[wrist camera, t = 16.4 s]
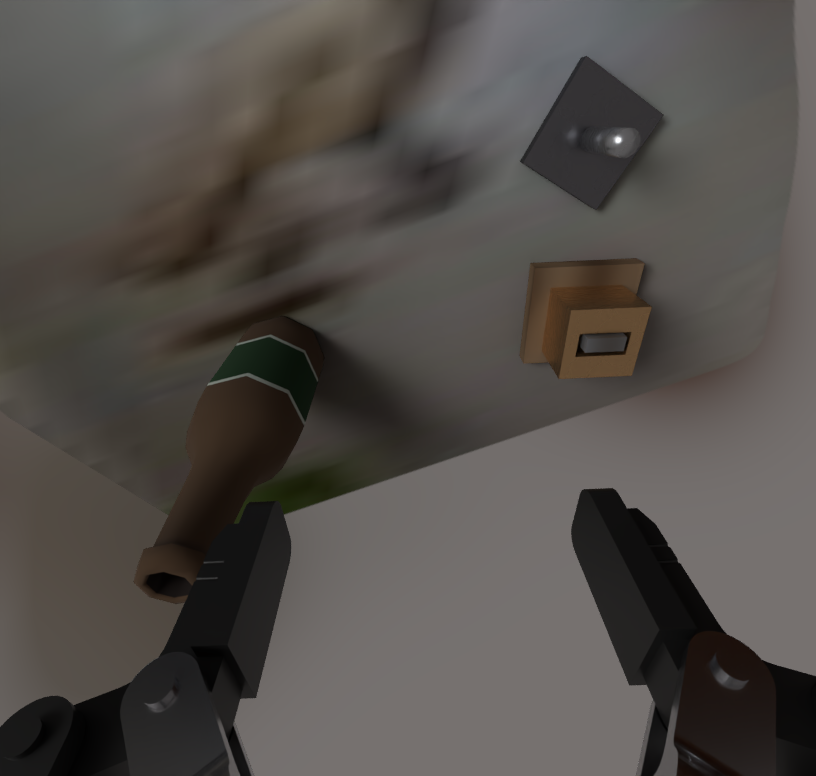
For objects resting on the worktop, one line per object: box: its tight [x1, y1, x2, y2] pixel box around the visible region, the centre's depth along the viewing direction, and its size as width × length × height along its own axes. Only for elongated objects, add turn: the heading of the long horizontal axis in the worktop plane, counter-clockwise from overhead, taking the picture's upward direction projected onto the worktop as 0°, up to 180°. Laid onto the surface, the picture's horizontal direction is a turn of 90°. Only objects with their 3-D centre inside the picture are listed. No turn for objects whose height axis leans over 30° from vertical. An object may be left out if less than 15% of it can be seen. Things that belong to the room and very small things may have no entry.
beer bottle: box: [134, 316, 324, 604], centre depth 30 cm, size 8×8×24 cm
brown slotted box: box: [541, 285, 652, 379], centre depth 35 cm, size 6×6×5 cm
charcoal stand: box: [520, 56, 663, 209], centre depth 28 cm, size 7×7×6 cm
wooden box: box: [520, 258, 645, 363], centre depth 35 cm, size 9×9×7 cm
